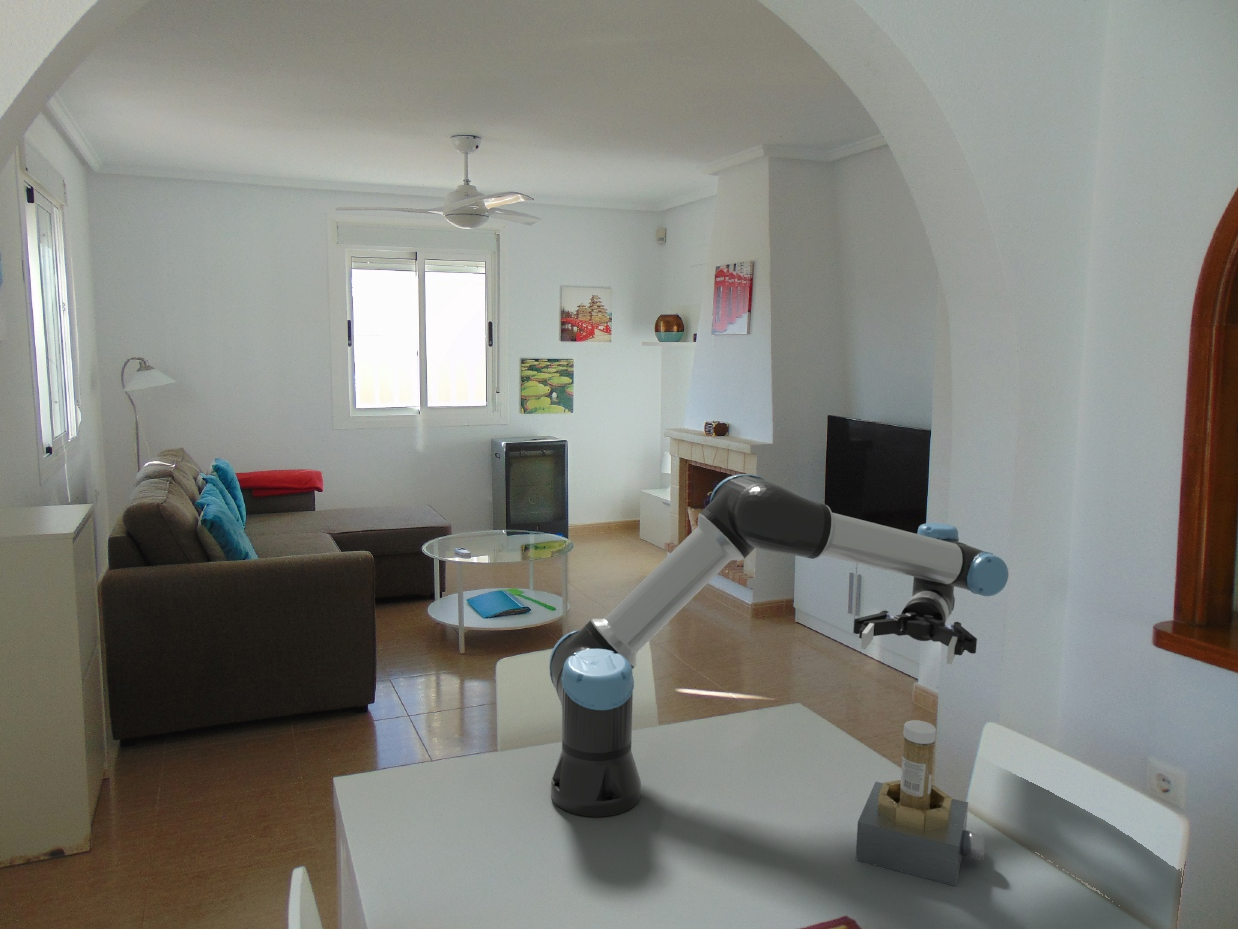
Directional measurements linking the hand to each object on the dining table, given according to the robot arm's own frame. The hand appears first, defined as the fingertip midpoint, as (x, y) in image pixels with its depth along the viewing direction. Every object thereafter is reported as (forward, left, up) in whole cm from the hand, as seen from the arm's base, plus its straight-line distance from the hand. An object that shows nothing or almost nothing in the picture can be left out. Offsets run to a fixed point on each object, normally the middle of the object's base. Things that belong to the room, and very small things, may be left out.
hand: (905, 648), depth 145 cm
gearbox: (+6, -14, -27) cm, 31 cm away
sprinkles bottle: (+4, -14, -21) cm, 25 cm away
